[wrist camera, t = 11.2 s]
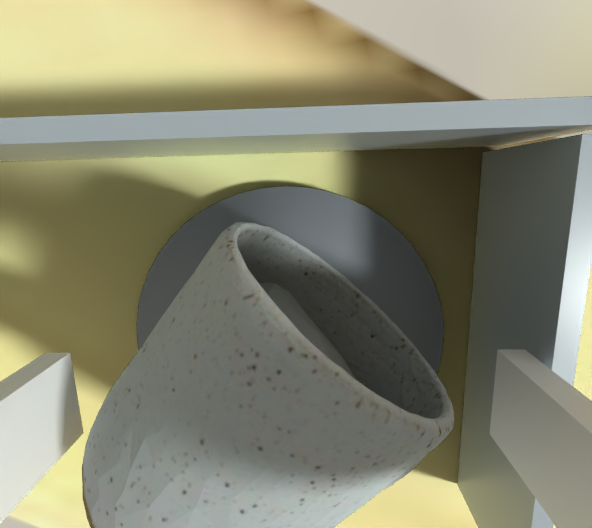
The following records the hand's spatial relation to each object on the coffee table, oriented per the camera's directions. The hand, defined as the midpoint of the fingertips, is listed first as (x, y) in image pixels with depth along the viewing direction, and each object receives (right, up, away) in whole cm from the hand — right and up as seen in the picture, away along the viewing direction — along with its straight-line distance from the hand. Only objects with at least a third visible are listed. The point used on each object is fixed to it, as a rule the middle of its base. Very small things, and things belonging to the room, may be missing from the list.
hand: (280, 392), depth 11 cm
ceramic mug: (+1, 0, +4) cm, 4 cm away
